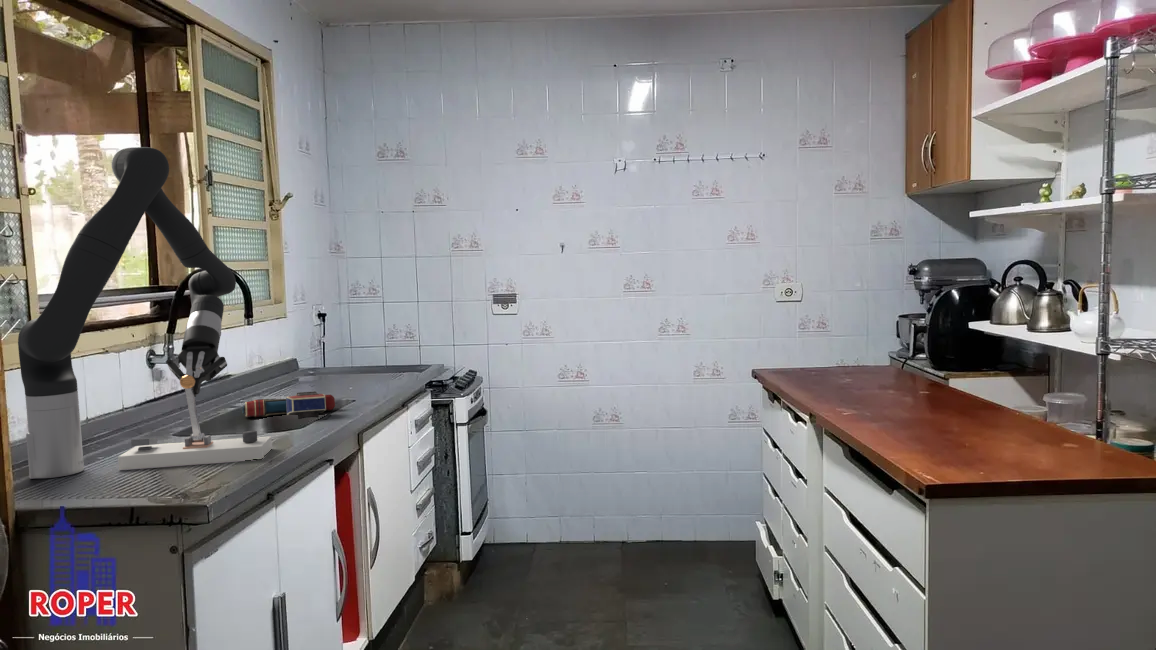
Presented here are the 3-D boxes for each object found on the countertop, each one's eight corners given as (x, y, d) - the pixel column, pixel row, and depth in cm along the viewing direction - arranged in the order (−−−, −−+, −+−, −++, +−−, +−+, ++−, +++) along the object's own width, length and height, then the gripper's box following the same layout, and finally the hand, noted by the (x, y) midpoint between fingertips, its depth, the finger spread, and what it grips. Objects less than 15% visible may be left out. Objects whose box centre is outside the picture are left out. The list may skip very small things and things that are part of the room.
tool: (242, 400, 228) (244, 392, 211) (331, 394, 239) (340, 386, 221) (243, 427, 227) (245, 421, 209) (332, 420, 238) (342, 414, 220)
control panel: (262, 459, 172) (260, 437, 171) (119, 470, 166) (117, 447, 166) (272, 448, 182) (270, 427, 182) (138, 458, 177) (136, 436, 177)
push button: (255, 441, 175) (255, 433, 175) (241, 442, 174) (241, 433, 174) (258, 439, 178) (258, 430, 178) (244, 440, 177) (244, 431, 177)
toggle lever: (203, 444, 173) (191, 378, 167) (189, 445, 173) (176, 379, 167) (207, 437, 176) (195, 372, 170) (193, 438, 175) (180, 373, 169)
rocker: (149, 445, 170) (149, 438, 170) (131, 446, 169) (131, 439, 169) (157, 444, 175) (157, 437, 175) (139, 445, 174) (139, 439, 174)
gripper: (167, 325, 178) (153, 386, 167) (229, 322, 180) (219, 383, 169) (176, 346, 183) (163, 406, 172) (236, 343, 186) (227, 402, 175)
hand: (191, 394), depth 171 cm, fingers closed
